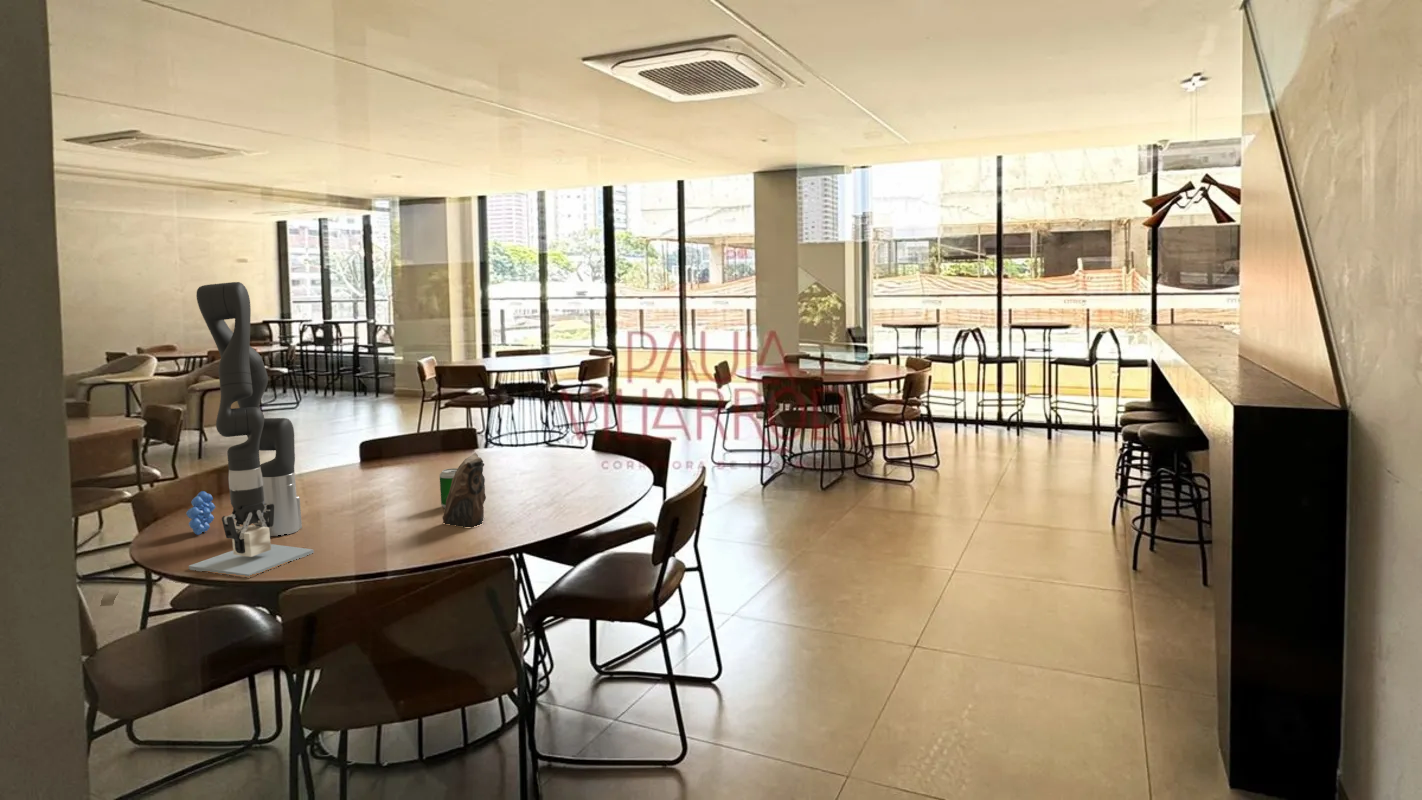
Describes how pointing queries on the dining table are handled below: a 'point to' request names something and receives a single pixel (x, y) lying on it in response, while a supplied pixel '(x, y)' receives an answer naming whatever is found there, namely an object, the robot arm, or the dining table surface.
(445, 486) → the soda can
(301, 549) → the slate board
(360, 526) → the dining table surface
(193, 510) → the grapes
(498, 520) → the dining table surface
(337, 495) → the dining table surface
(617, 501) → the dining table surface
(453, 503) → the owl
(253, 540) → the maple block
